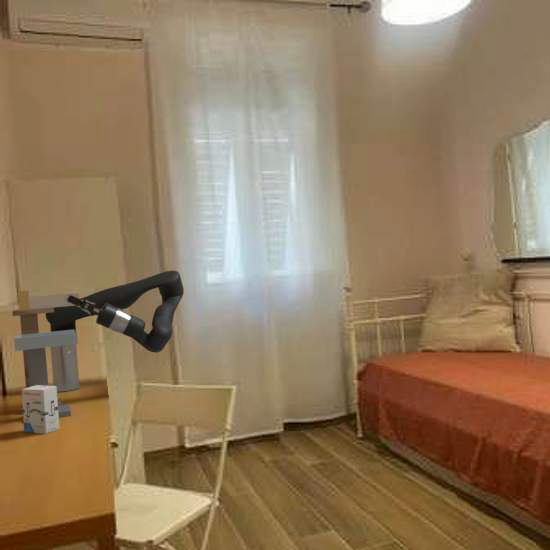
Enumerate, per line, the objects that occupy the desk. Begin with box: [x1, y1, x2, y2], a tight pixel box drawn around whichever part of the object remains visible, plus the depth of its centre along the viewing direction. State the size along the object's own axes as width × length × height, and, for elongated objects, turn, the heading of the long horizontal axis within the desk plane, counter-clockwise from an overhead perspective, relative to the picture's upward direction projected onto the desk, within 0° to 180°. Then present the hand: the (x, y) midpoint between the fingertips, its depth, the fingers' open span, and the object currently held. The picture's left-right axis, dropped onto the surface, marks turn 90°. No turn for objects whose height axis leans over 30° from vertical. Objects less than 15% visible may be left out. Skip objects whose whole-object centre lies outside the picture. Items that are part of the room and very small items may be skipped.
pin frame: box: [13, 330, 79, 419], centre depth 178 cm, size 14×17×24 cm
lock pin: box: [17, 290, 80, 310], centre depth 191 cm, size 6×18×6 cm, turn 112°
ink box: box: [21, 385, 60, 435], centre depth 158 cm, size 9×5×12 cm, turn 62°
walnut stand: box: [12, 307, 63, 415], centre depth 189 cm, size 9×12×32 cm
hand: (67, 297), depth 193 cm, fingers open, 8 cm apart
